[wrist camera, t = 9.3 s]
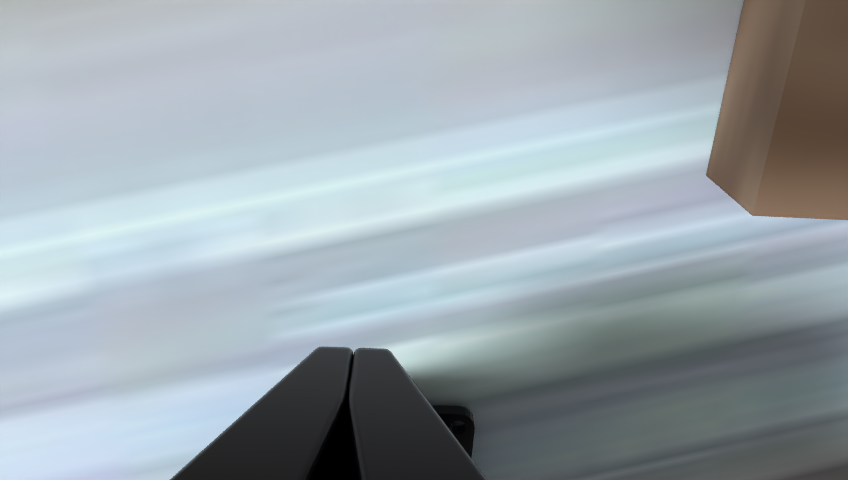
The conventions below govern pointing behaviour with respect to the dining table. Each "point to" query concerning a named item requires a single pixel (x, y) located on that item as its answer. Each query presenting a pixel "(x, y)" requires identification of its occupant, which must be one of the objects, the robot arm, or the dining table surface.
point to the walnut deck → (786, 111)
